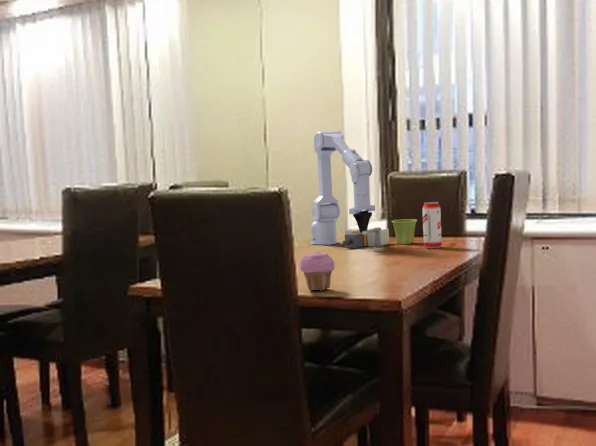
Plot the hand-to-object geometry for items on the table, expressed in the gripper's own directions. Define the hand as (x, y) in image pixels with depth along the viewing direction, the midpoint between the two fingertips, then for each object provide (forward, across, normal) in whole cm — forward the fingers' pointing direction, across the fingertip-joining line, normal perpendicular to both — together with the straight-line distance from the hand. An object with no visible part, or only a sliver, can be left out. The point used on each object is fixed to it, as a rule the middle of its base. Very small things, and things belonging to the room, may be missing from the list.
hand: (363, 232), depth 267 cm
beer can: (+6, +11, -22) cm, 25 cm away
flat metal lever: (0, +3, -1) cm, 4 cm away
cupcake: (+6, -73, -32) cm, 80 cm away
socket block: (+6, +13, +6) cm, 16 cm away
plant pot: (+6, +20, -6) cm, 22 cm away
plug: (+6, +6, +7) cm, 11 cm away
